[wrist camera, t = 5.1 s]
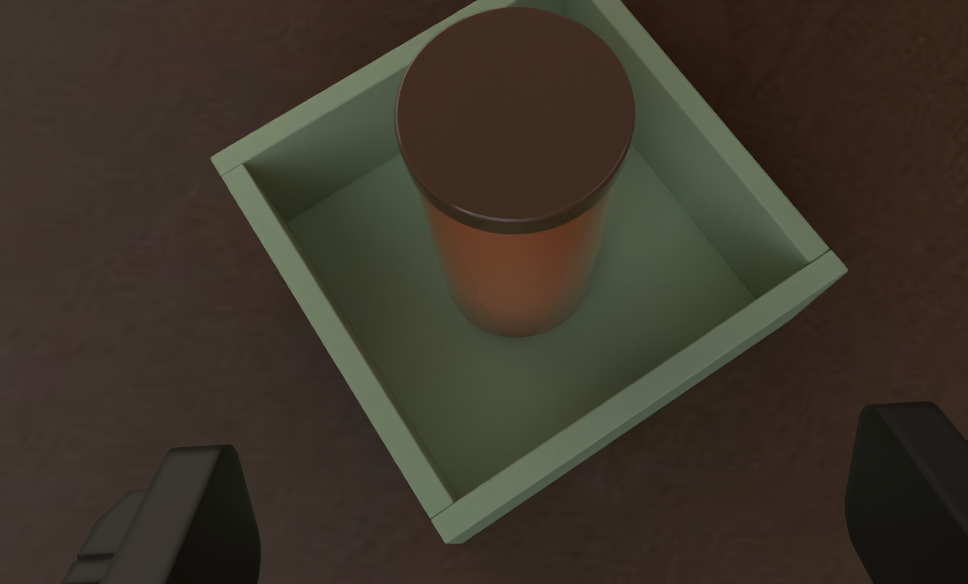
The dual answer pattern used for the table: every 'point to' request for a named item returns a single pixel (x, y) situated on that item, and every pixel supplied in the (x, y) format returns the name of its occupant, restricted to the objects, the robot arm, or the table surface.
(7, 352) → the table surface
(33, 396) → the table surface
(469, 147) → the spice jar
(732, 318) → the crate
